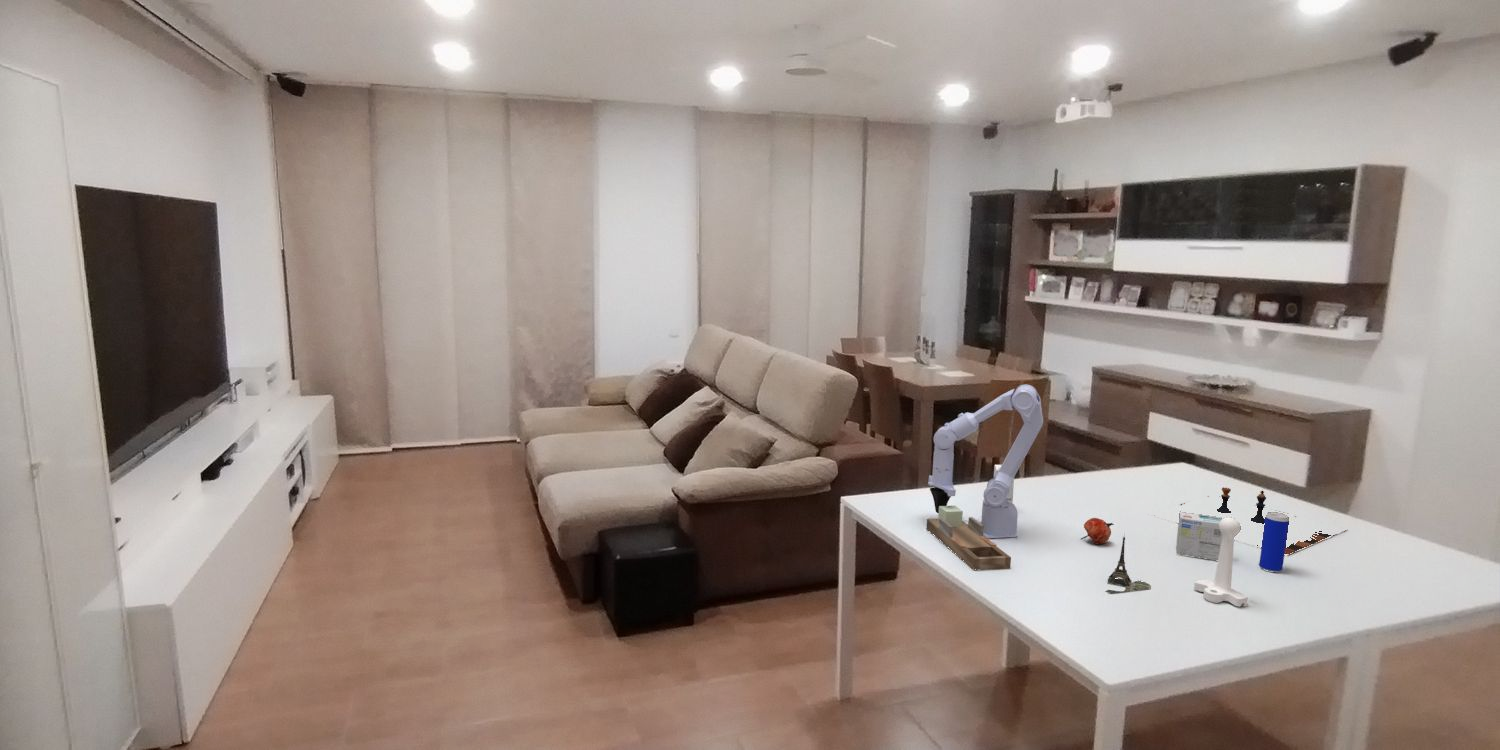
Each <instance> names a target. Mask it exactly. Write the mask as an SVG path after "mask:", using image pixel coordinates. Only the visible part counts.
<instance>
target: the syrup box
mask: <svg viewBox="0 0 1500 750" xmlns="http://www.w3.org/2000/svg"><path fill="white" fill-rule="evenodd" d="M1001 466H1002V464H994V467H993V468H994V469H993V478H994V477H995V476H996V474H997V472H998V471H999V469H1000V467H1001ZM1014 483H1015V477H1014V478H1013V480H1012V482H1011V485H1010V487H1009V493H1008V494H1007V501H1008V502H1009V503H1012V504H1014V502H1013V501H1014V489H1015V488H1014Z"/></svg>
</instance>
